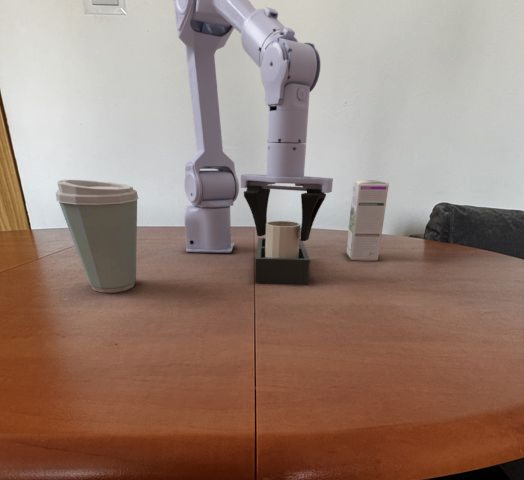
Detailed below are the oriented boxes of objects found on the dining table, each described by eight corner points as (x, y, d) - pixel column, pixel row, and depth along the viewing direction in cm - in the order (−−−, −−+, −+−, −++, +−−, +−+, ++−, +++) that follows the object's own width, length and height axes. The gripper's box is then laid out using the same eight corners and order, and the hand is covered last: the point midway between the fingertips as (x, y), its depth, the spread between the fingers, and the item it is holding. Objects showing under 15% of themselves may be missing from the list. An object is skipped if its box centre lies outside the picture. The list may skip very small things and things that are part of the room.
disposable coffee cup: (145, 274, 64) (133, 178, 57) (153, 294, 55) (140, 183, 48) (77, 280, 61) (55, 178, 54) (74, 302, 52) (47, 184, 45)
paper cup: (259, 274, 63) (260, 224, 60) (272, 266, 68) (274, 219, 64) (290, 278, 61) (293, 228, 58) (301, 270, 66) (305, 222, 62)
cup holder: (255, 283, 61) (255, 258, 59) (258, 258, 76) (258, 237, 74) (307, 284, 61) (309, 259, 59) (300, 259, 76) (302, 238, 74)
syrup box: (378, 261, 76) (391, 182, 69) (349, 260, 76) (359, 181, 69) (371, 254, 81) (383, 180, 74) (344, 253, 81) (353, 179, 74)
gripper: (341, 145, 56) (331, 237, 63) (254, 143, 62) (253, 229, 68) (328, 143, 51) (319, 245, 57) (233, 142, 56) (235, 236, 62)
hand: (282, 237), depth 62 cm, fingers open, 7 cm apart
